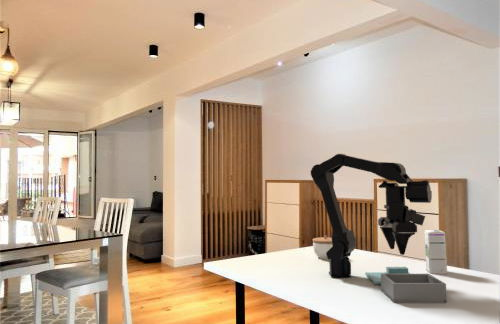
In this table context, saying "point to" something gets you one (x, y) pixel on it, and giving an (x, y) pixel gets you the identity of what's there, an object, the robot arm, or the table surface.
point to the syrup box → (435, 252)
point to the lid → (376, 276)
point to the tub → (413, 288)
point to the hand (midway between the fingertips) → (397, 251)
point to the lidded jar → (322, 246)
